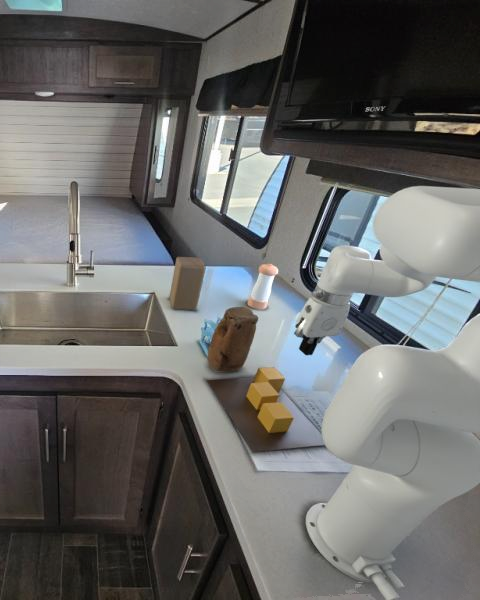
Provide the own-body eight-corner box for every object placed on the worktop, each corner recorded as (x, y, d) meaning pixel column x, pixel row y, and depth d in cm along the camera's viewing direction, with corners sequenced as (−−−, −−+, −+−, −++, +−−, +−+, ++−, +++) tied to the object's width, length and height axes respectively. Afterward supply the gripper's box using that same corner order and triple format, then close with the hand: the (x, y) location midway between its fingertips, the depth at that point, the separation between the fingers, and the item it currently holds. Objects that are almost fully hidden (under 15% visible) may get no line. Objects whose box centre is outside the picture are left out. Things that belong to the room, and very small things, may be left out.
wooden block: (191, 299, 140) (201, 257, 130) (196, 311, 131) (207, 266, 122) (168, 298, 141) (176, 255, 131) (172, 309, 132) (180, 265, 122)
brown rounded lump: (229, 355, 107) (245, 303, 97) (245, 370, 100) (264, 316, 91) (201, 361, 104) (215, 308, 94) (216, 376, 98) (233, 321, 88)
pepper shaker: (262, 301, 140) (276, 260, 130) (269, 310, 133) (284, 267, 124) (244, 300, 140) (257, 259, 131) (250, 309, 134) (264, 266, 125)
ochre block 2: (273, 408, 87) (279, 395, 84) (256, 410, 86) (262, 396, 84) (262, 394, 91) (267, 381, 89) (246, 396, 90) (251, 383, 88)
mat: (330, 445, 77) (330, 444, 77) (252, 452, 75) (253, 451, 75) (268, 376, 98) (268, 375, 98) (206, 380, 96) (206, 379, 96)
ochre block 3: (287, 431, 80) (294, 417, 78) (269, 433, 80) (275, 419, 77) (274, 415, 85) (280, 402, 82) (257, 416, 84) (262, 403, 82)
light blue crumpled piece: (211, 339, 114) (219, 310, 109) (227, 353, 108) (237, 323, 102) (193, 343, 112) (200, 314, 106) (208, 357, 105) (217, 327, 100)
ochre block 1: (279, 391, 92) (285, 378, 90) (263, 392, 92) (268, 379, 89) (268, 379, 97) (274, 366, 94) (253, 380, 96) (258, 367, 94)
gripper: (315, 304, 76) (289, 362, 86) (371, 301, 78) (340, 359, 87) (294, 289, 83) (271, 345, 92) (346, 287, 84) (319, 342, 94)
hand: (305, 352), depth 90 cm, fingers closed
